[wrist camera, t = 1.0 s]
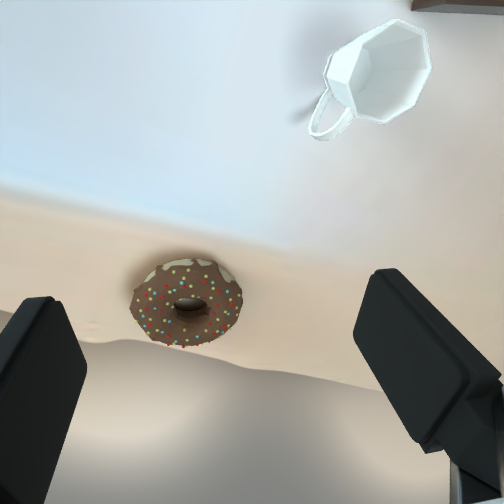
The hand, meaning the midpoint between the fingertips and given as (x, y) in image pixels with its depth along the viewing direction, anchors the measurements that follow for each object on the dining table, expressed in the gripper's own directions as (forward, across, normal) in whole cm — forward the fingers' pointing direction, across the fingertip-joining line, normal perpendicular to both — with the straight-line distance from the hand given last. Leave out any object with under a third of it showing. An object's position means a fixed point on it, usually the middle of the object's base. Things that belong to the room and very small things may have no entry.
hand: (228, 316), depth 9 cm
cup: (+25, -13, -5) cm, 29 cm away
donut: (+26, +3, +20) cm, 33 cm away
